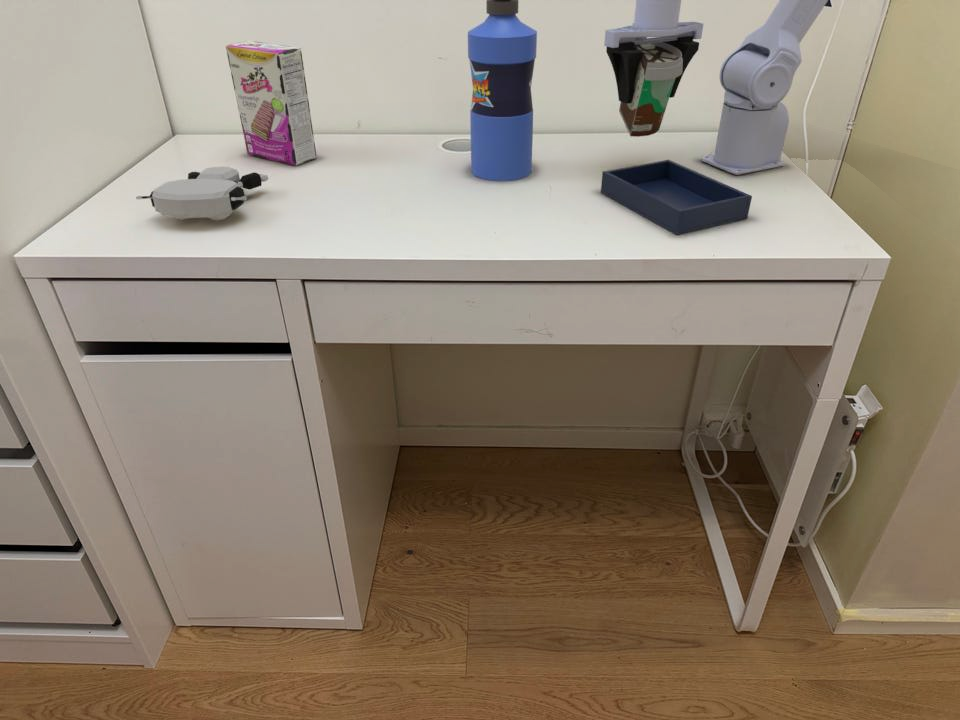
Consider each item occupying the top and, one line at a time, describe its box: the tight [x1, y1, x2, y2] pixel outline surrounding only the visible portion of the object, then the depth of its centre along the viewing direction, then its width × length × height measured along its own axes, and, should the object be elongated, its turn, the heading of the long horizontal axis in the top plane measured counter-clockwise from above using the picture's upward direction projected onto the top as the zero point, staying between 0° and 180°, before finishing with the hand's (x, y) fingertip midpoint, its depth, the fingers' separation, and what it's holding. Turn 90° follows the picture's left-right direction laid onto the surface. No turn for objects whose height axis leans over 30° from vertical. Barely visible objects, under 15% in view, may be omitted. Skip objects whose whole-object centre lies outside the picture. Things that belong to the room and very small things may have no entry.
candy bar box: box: [224, 40, 318, 167], centre depth 105 cm, size 11×5×16 cm, turn 58°
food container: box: [618, 42, 683, 137], centre depth 95 cm, size 12×6×10 cm, turn 1°
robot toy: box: [135, 166, 269, 221], centre depth 90 cm, size 12×4×15 cm
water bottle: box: [467, 0, 538, 182], centre depth 96 cm, size 9×9×25 cm
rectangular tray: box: [600, 159, 753, 236], centre depth 90 cm, size 11×16×3 cm
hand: (646, 98), depth 96 cm, fingers closed on food container, 7 cm apart
